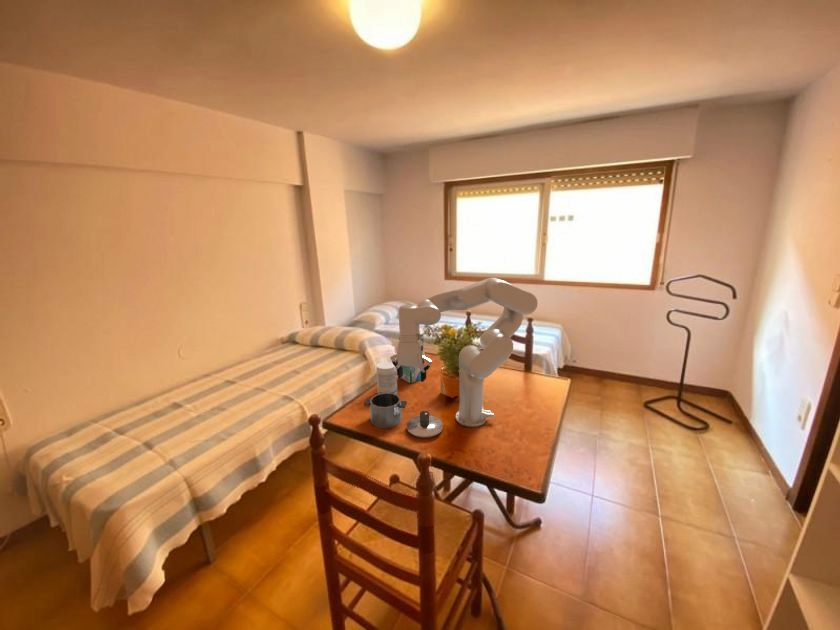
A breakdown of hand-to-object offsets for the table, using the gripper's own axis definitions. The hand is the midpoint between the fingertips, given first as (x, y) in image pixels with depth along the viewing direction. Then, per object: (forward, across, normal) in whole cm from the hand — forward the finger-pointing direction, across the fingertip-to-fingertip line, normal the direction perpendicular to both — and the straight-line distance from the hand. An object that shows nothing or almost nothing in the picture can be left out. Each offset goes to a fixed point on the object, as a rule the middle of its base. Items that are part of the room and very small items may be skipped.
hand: (411, 378), depth 132 cm
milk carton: (+21, +18, -41) cm, 49 cm away
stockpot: (+20, +12, 0) cm, 24 cm away
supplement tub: (+20, +23, -21) cm, 37 cm away
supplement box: (+21, -6, -30) cm, 37 cm away
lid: (+21, -5, +1) cm, 21 cm away
